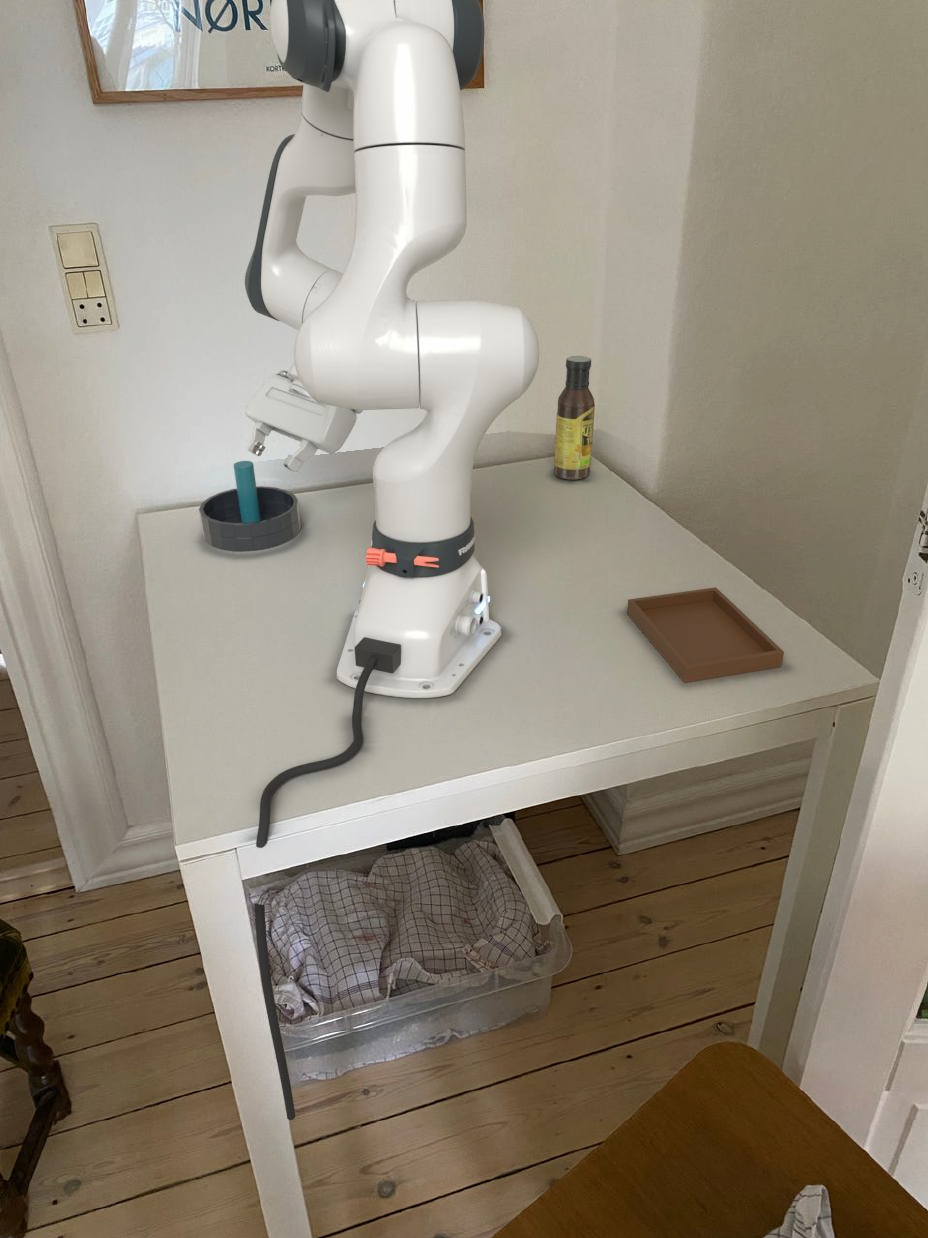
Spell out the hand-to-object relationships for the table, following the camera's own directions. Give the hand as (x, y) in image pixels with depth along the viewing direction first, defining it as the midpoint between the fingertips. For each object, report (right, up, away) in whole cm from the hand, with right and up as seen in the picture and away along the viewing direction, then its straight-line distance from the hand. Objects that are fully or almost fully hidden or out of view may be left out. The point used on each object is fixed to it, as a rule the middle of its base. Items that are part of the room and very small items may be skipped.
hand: (270, 460), depth 136 cm
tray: (+57, -26, -24) cm, 67 cm away
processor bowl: (-3, -11, +2) cm, 11 cm away
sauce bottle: (+47, +1, +23) cm, 52 cm away
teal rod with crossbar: (-3, -10, +2) cm, 11 cm away
